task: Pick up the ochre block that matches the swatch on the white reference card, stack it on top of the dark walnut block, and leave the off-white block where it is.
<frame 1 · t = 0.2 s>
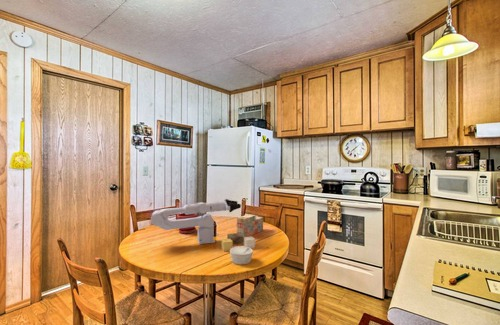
hand: (238, 204, 153), 21 cm above the table, tool horizontal, fingers open, 7 cm apart
plant pot: (186, 231, 167), on the table
reference card: (239, 249, 135), on the table
ochre block: (226, 249, 135), on the table
walnut base block: (235, 241, 148), on the table
ramekin: (241, 261, 120), on the table
off-white block: (249, 246, 139), on the table
stack of blocks: (250, 233, 165), on the table
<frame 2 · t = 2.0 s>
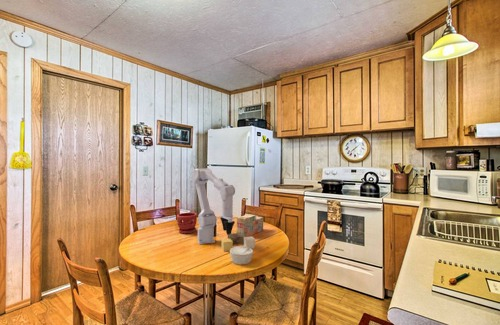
hand: (227, 232, 135), 9 cm above the table, tool pointing down, fingers open, 7 cm apart
nothing on the table moved.
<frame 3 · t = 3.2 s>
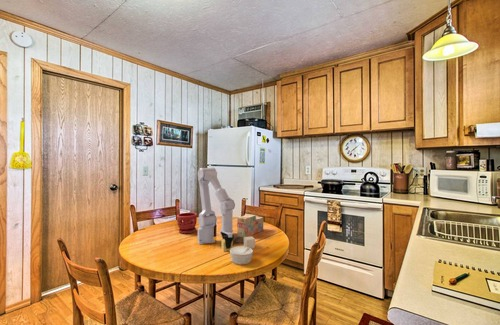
hand: (226, 246, 135), 1 cm above the table, tool pointing down, fingers closed on ochre block, 5 cm apart
ochre block: (226, 249, 135), on the table, touching gripper
everything else where it was.
when the fingers open (7 cm above the table, at t = 6.4 s): ochre block drops 2 cm, resting on walnut base block.
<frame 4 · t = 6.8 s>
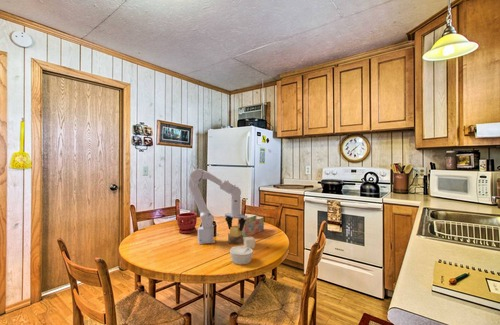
hand: (235, 229, 148), 7 cm above the table, tool pointing down, fingers open, 7 cm apart
ochre block: (235, 235, 148), point 4 cm above the table, touching walnut base block
walnut base block: (235, 242, 148), on the table, touching ochre block
everything else where it was.
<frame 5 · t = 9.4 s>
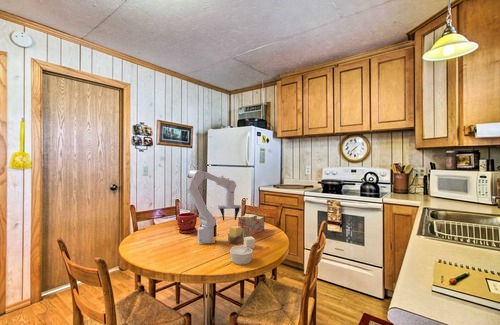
hand: (229, 219, 158), 10 cm above the table, tool pointing down, fingers open, 7 cm apart
ochre block: (235, 235, 148), point 4 cm above the table
walnut base block: (235, 242, 148), on the table
at the end: ochre block 0.2 cm off-centre on the walnut base block, point 4.1 cm above the walnut base block's base; ochre block tilted 1°; off-white block moved 0.1 cm from its start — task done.
